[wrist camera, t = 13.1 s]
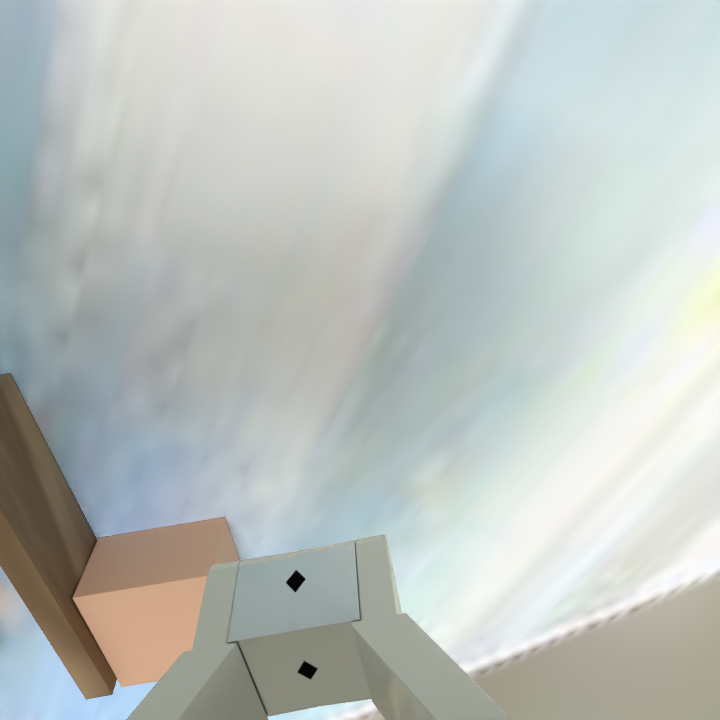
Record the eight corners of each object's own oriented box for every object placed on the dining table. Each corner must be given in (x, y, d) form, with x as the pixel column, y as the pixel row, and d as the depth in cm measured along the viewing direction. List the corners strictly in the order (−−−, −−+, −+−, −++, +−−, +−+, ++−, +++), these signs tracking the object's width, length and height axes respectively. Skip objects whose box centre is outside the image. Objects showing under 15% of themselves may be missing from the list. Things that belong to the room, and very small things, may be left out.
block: (141, 621, 53) (121, 687, 47) (99, 535, 48) (72, 598, 43) (256, 602, 52) (249, 666, 47) (225, 514, 48) (214, 574, 42)
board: (113, 620, 52) (85, 699, 46) (-19, 378, 40) (-79, 441, 34) (136, 615, 52) (112, 694, 46) (10, 373, 40) (-45, 434, 34)
